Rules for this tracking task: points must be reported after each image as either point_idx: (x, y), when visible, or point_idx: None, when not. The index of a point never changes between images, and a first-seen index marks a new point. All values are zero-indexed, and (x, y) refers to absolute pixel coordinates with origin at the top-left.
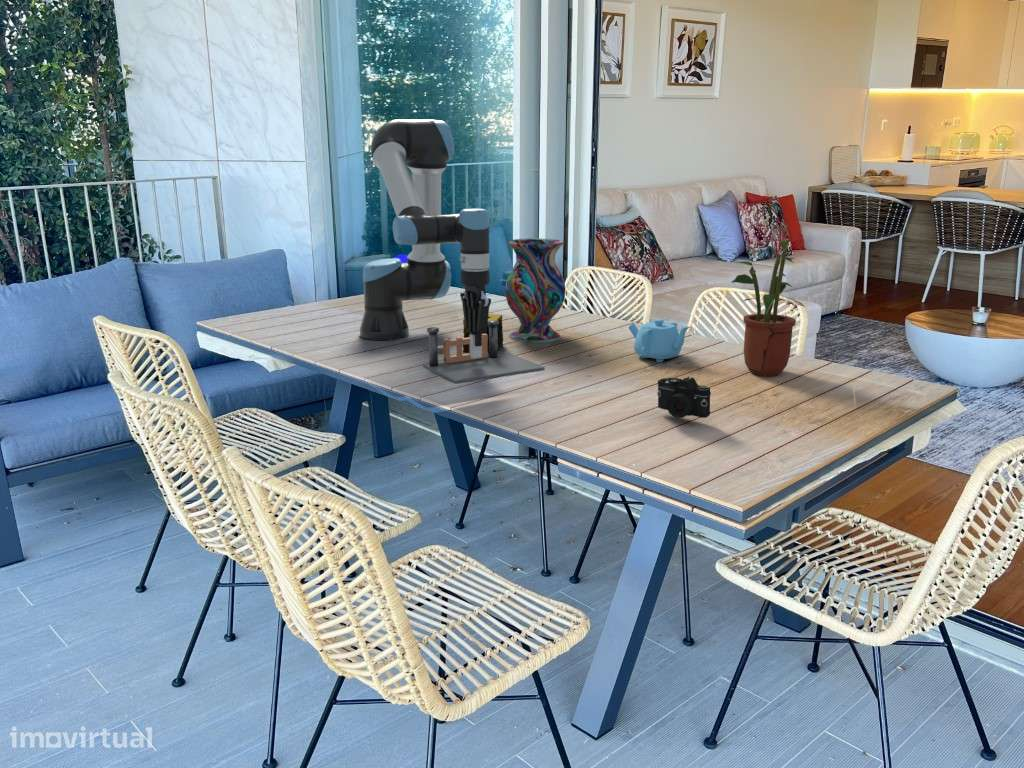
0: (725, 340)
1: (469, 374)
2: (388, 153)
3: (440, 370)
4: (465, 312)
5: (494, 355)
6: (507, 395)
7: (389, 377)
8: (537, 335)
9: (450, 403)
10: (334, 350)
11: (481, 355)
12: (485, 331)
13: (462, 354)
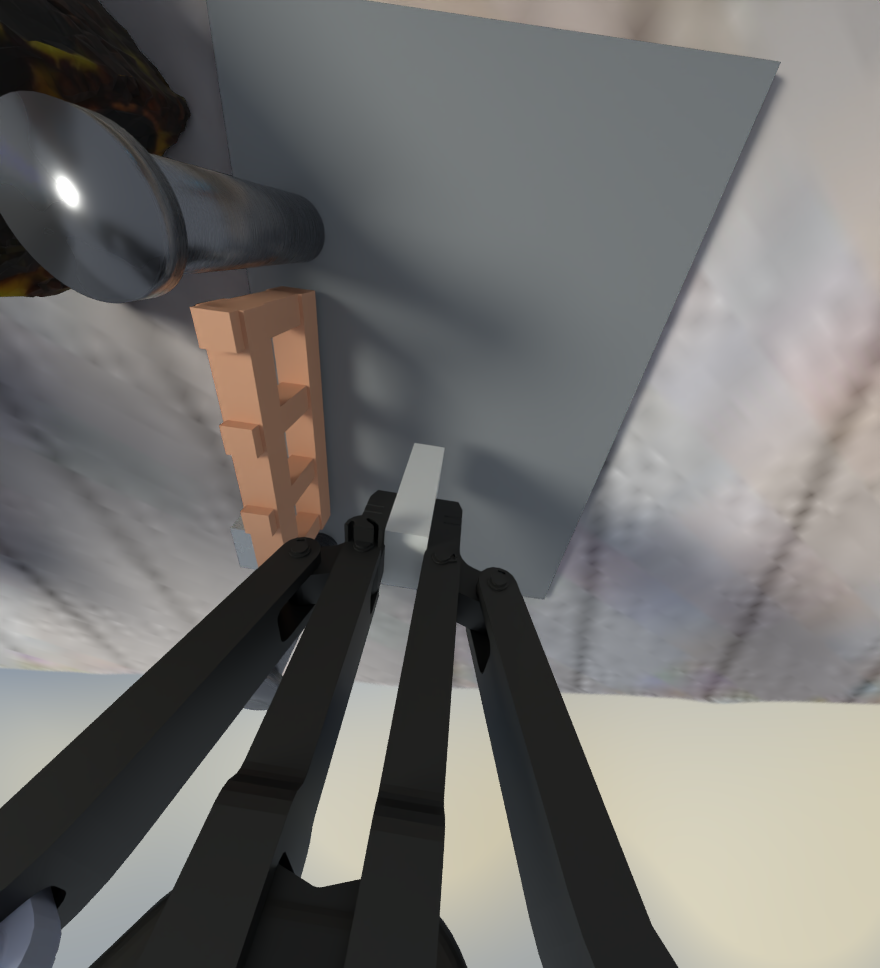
0: None
1: (516, 531)
2: None
3: None
4: (230, 721)
5: (317, 240)
6: (807, 572)
7: (364, 655)
8: None
9: (680, 684)
10: (3, 609)
11: (443, 454)
12: (512, 584)
13: (293, 446)
